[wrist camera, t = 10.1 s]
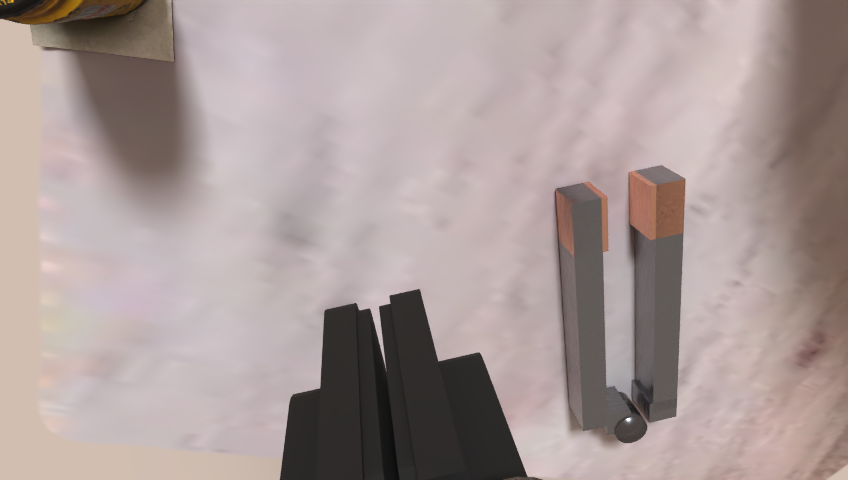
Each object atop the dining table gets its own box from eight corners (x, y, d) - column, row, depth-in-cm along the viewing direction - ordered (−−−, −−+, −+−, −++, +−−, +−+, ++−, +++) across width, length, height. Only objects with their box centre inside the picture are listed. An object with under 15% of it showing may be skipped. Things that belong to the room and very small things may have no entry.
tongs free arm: (628, 173, 39) (651, 188, 36) (628, 411, 48) (646, 438, 46) (555, 188, 38) (572, 205, 36) (570, 425, 48) (585, 453, 45)
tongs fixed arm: (661, 165, 39) (685, 178, 36) (657, 392, 48) (676, 416, 45) (629, 172, 39) (650, 186, 36) (631, 398, 48) (648, 422, 45)
